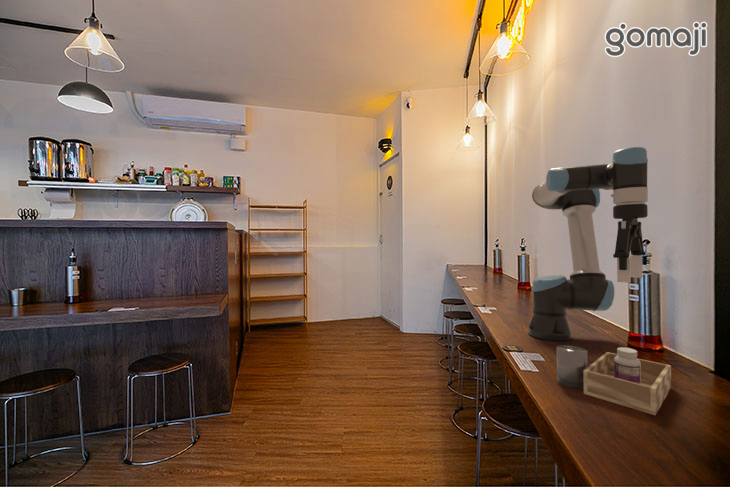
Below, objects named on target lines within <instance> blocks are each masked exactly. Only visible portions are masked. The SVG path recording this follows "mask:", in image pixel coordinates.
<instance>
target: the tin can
mask: <svg viewBox="0 0 730 487" xmlns="http://www.w3.org/2000/svg"><path fill="white" fill-rule="evenodd" d="M587 367H588V350H587V349H585V348H582V347H579V346H575V345H568V344H567V345H566V344H562V345H561V344H560V345H558V346H556V381H557V382H558V384H560V385H562V386H563V387H564V386H565V387H567V388H571V389H584V370H585V369H586V368H587Z"/></svg>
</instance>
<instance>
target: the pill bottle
mask: <svg viewBox="0 0 730 487" xmlns="http://www.w3.org/2000/svg"><path fill="white" fill-rule="evenodd" d="M616 354H618V355H617V356H615V358H614V377H615V378H619V379H623V380H627V381H630V382H634V383H638V384H641V362H640V361H639V360H638V359H639V358H638V359H637V357H638V350H636V349H634V348H631V347H617V349H616Z"/></svg>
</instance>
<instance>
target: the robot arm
mask: <svg viewBox="0 0 730 487" xmlns="http://www.w3.org/2000/svg"><path fill="white" fill-rule="evenodd" d="M611 162H612V163H604V164H591V165H579V166H577V165H576V166H558V167H555V168H550V169H548V171H547V174H546V176H545V177H546V180H545V182H541V183H539V184H538V185H537V186H535V187H534V188H533V189H532V193H531V199H532V200H533V202H534V203H535V205H537V206H538V207H541V208H543V209H547V210H562V211H561V212H562V215H563V216H565V217H566V219H567V225H568V227H567V228H568V236H569V243H570V244H569V246H570V252H571V259H572V261H571V262H572V270H573V272H572V273H571V274H569V279H567V276H565V275H562V274H561V275H544V276H539V277H536V278H534V279H533V281H532V289H531V291H532V315H531V319H530V321H529V324H528V327H527V329H528V330H527V331H528V332H527V333H528V335H530V336H532V337H534V338H537V339H542V340H547V341H555V342H556V341H559V342H560V341H561V342H562V341H569V340H571V339H573V331H572V328H571V325H570V323H569V320H568V317H567V311H568V310H571V311H592V312H601V311H602V312H603V311H607V310H609V309H610V308H611V307H612V306H613V303H614V300H615V285H614V283H613V281H612V280H610V279H607V276H606V274H605V273H604V272H603V271H601V270H600V263H599V256H598V249H597V248H598V247H597V241H596V236H595V234H596V233H595V226H594V220H593V213H595V212H596V208H598V207H599V206H600V203H601V191H600V190H605V191H608V190H612V191H613V192H612V194H611V195H610V197H611V198H613V200H612V201H613V204H614V206H613V207H612V209H613V210H612V215H613V216H612V218H613V219H615V220H619V221H617V234H616V241H615V248H614V249H615V250H614V253H613V256H612V257H613V258H614V259H616V261H617V262H616V268H617V269H616V274H617V276H616V279H617V281H616V282H617V283H628V284H631V282H632V280H631V278H637V279H643V256H646V255H647V252H646V251H645V250H644V249H645V248H644V242H643V234H642V233H643V232H642V221H639V220H638V219H645V218H647V217H648V214H649V213H648V205H647V202H648V201H649V199H648V198H649V195H648V194H649V193H648V192H649V191H648V190H649V189H648V163H649V159H648V151H647V148H645V147H643V146H634V147H625V148H620V149H617V150H616V151H614V152H613V154H612V160H611ZM620 220H621V221H620Z"/></svg>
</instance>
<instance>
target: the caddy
mask: <svg viewBox="0 0 730 487" xmlns="http://www.w3.org/2000/svg"><path fill="white" fill-rule="evenodd" d="M617 355H618V354H617V353H615V352H609V351H607V352H605V353H604V354H602V355H601V356H600V357H598V358H597V359H596V360H595V361H594V362H593V363H591V364H589V366H587V368H586V369H585V370H584V388H583V394H584V395H587V396H591V397H594V398H596V399H600V400H603V401H607V402H610V403H613V404H616V405H620V406H623V407H627V408H628V409H629V408H630V409H633V410H636V411H639V412H642V413H647V414H649V415H651V416H652V415H653V416H656V415H657V413H658V412H659V410H660V409H661V407H662V405H663V403H664V401H665V399H666V398H667V396H668V394H669V393H670V390H671V389H672V365H670V364H665V363H661V362H656V361H652V360H648V359H647V360H646V359H642V358H637V359H638V360H639V361H640V362H641V384H638V383H634V382H630V381H627V380H623V379H619V378H615V377H614V358H615V356H617Z"/></svg>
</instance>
